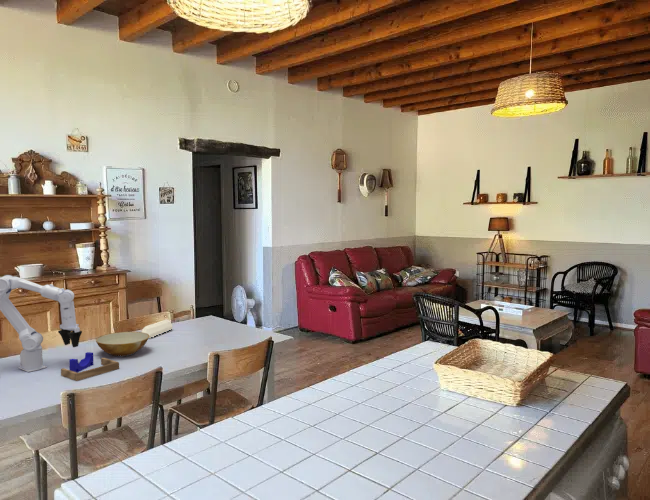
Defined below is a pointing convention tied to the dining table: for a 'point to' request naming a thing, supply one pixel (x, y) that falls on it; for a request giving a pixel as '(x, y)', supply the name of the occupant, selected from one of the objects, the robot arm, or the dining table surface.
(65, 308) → the robot arm
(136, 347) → the bowl
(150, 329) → the crystal
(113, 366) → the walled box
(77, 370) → the blue cradle block
